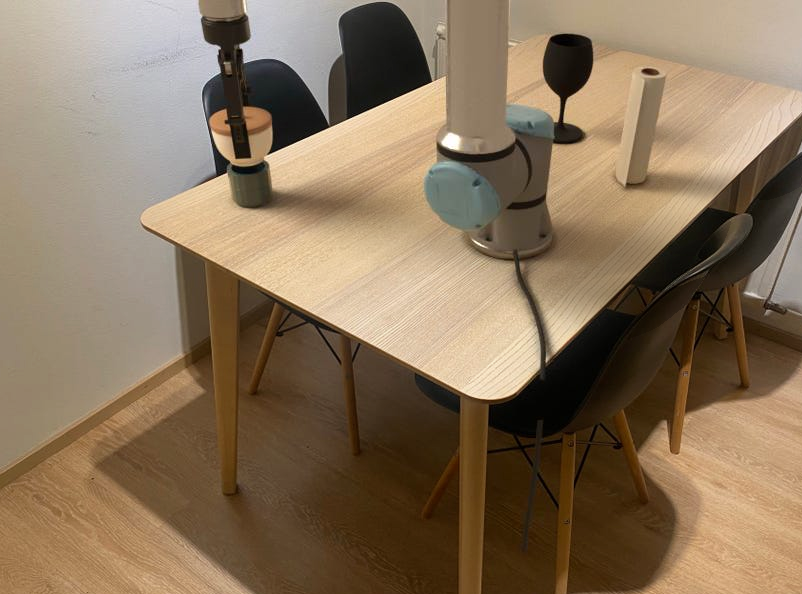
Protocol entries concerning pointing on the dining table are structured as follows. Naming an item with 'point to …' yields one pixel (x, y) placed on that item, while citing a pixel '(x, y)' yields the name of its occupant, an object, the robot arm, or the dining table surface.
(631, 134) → the paper towel roll
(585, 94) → the dining table surface
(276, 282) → the dining table surface
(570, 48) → the wine glass
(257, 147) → the trinket box
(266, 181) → the grey-green hollow cylinder
